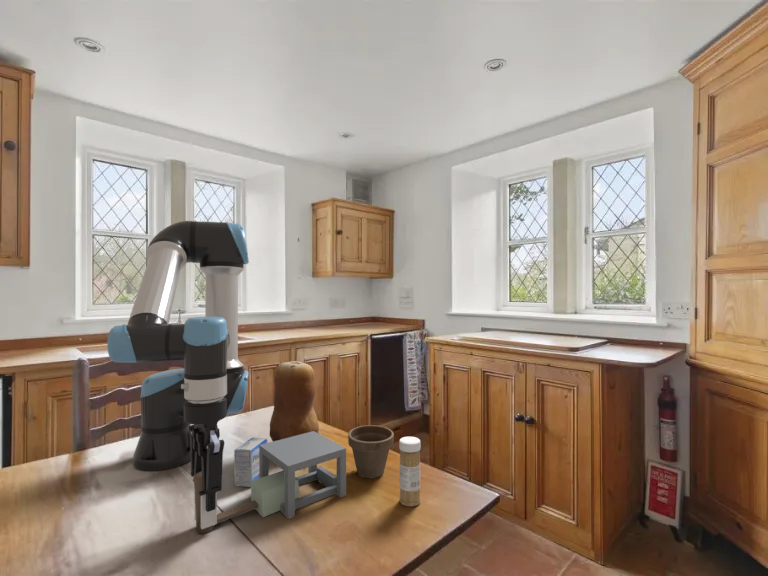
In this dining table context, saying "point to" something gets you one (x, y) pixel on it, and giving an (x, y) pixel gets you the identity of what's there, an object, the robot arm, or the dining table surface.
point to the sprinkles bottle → (409, 471)
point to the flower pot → (370, 449)
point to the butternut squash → (293, 401)
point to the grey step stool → (302, 455)
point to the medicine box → (247, 462)
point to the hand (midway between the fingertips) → (205, 520)
